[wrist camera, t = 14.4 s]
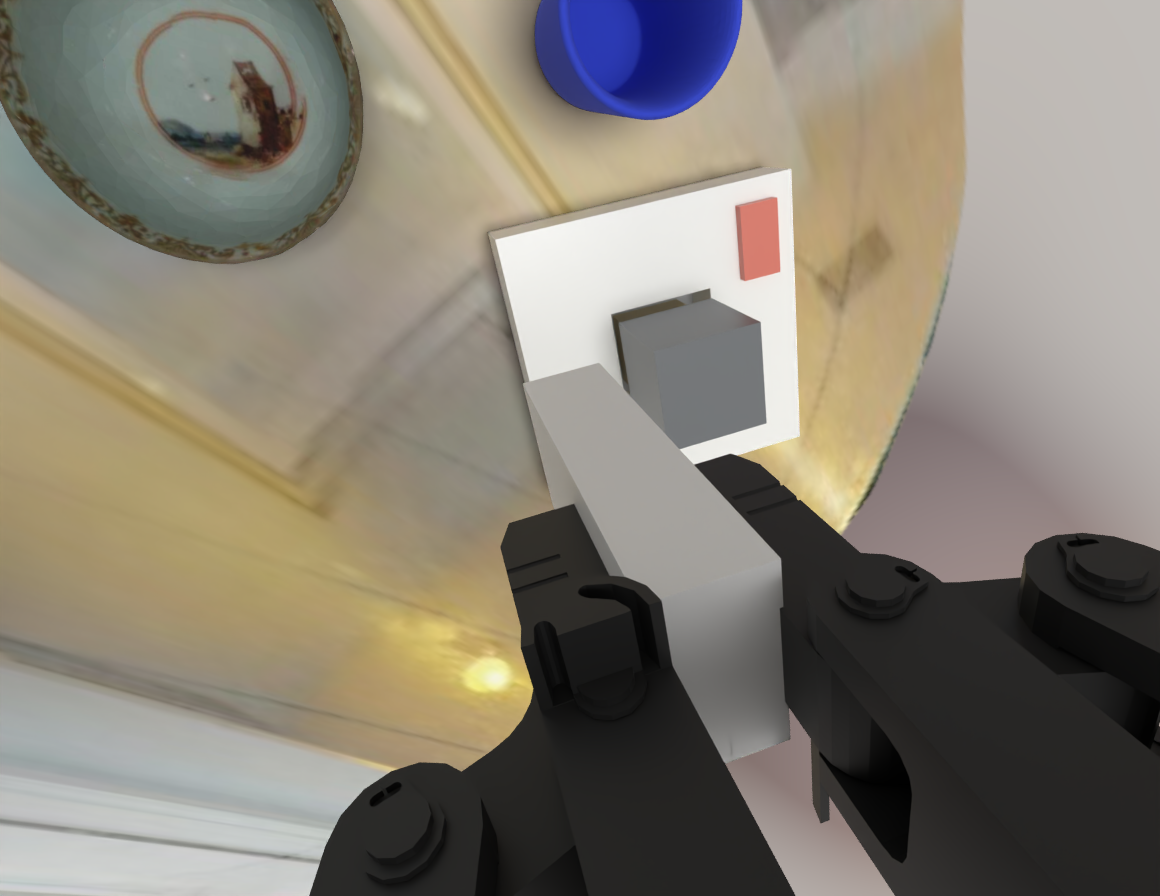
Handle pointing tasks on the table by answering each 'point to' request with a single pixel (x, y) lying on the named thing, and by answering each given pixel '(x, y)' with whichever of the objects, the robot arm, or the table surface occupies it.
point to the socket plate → (660, 282)
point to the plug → (693, 368)
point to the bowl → (188, 116)
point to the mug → (635, 52)
